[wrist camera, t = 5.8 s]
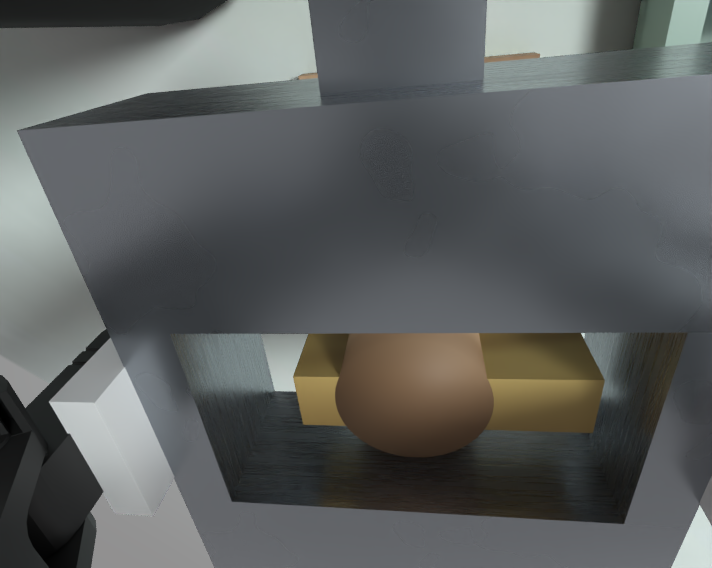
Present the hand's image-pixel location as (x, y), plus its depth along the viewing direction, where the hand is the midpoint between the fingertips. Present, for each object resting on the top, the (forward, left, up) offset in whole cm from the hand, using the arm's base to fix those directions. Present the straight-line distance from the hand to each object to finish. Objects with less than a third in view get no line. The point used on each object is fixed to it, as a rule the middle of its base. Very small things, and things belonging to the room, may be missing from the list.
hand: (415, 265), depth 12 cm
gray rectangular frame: (0, 0, +3) cm, 3 cm away
